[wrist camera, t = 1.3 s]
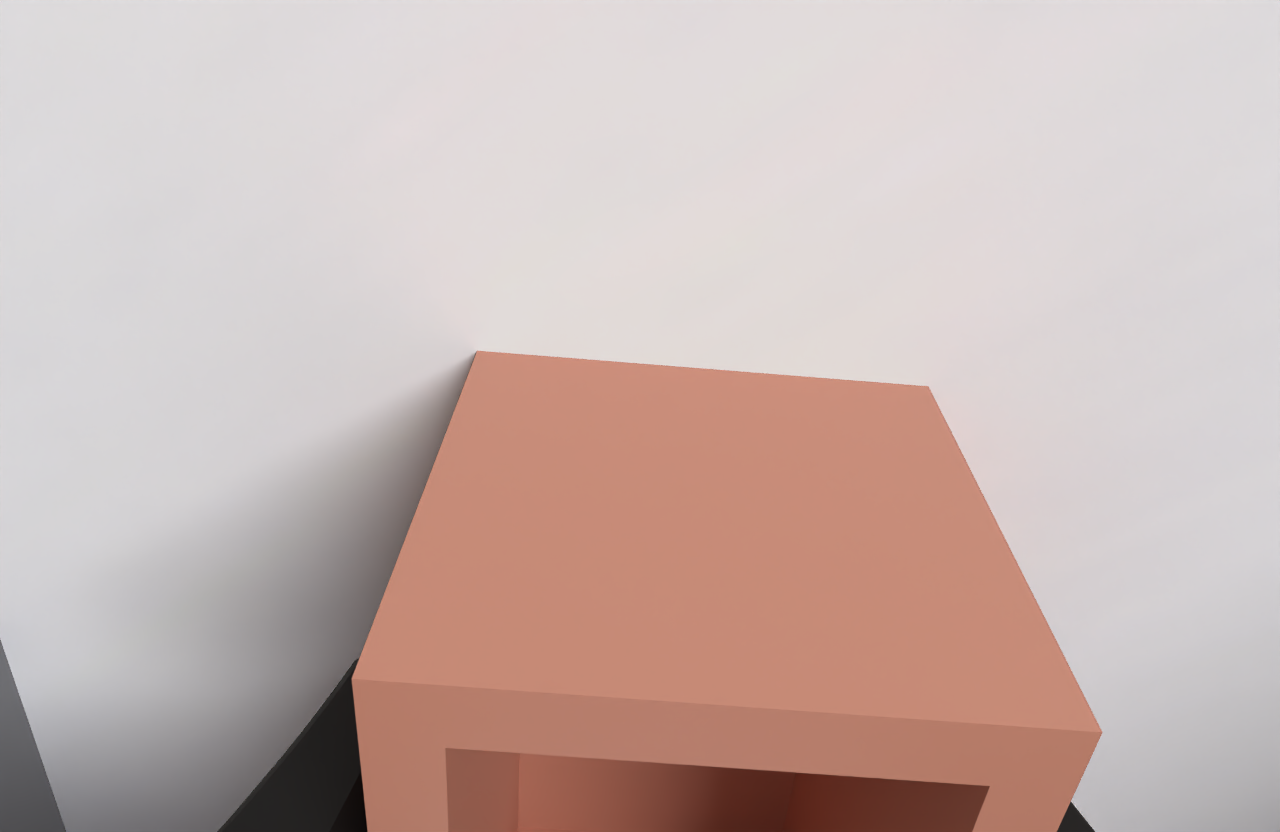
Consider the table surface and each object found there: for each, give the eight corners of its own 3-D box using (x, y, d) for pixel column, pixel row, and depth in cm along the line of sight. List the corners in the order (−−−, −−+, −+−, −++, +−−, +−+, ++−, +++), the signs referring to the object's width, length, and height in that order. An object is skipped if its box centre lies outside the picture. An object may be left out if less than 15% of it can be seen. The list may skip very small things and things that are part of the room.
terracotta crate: (807, 837, 15) (867, 1243, 10) (484, 815, 15) (408, 1215, 10) (925, 381, 11) (1103, 732, 6) (478, 345, 11) (351, 679, 6)
